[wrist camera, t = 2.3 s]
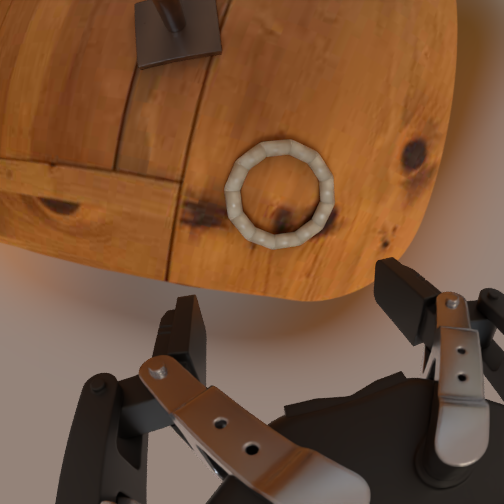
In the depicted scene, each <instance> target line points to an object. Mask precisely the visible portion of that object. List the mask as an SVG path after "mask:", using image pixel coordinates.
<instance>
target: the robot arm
mask: <svg viewBox="0 0 504 504" xmlns="http://www.w3.org/2000/svg"><path fill="white" fill-rule="evenodd" d="M374 297H375V300H376V302H377V304H378V305H379V306H380V307H381V308H382V309H383V311H384V312H385V313H386V314H387V315H388V316H389V318H390V319H392V321H393V322H394V324H395V325H396V326H397V327H398V328H399V330H400V331H401V332H402V333H403V334H404V336H405V337H406V338H407V339H408V340H409V342H410V343H411V344H412V345H413V346H415V345H418V344H420V343H424V344H425V346H424V349H423V356H422V365H421V373H420V378H406V377H405V376H404V374H403V373H402V371H400V372H398V373H395V374H393V375H390V376H387V377H384V378H382V379H379V380H377V381H374V382H373V383H371V384H370V385H368V386H366V387H365V388H363V389H362V390H360V391H358V392H356V393H355V394H353V395H351V396H346V397H334V398H318V399H312V400H309V401H304V402H300V403H296V404H291V405H286V406H284V411H285V415H284V416H282V417H279V418H278V419H276V420H274V421H272V422H271V423H269V424H268V425H266V424H265V423H263V422H262V421H261V420H259V419H258V418H256V417H255V416H254V415H252V414H251V413H249V412H248V411H247V410H245V409H244V408H243V407H241V406H240V405H239V404H237V403H236V402H235V401H234V400H232V399H231V398H229V397H228V396H227V395H226V394H225V393H223V392H222V391H220V390H219V389H218V388H217V387H215V386H210V387H209V388H207V387H206V330H205V325H204V322H203V318H202V315H201V311H200V308H199V304H198V300H197V297H196V295H189V296H183V297H178V298H177V303H176V308H175V310H169V311H167V312H166V313H165V315H164V316H163V317H162V318H161V322H160V326H159V330H158V335H157V338H156V342H155V346H154V351H153V355H152V358H150V359H148V360H147V361H146V362H144V363H143V364H142V366H141V367H140V370H139V374H138V375H136V376H133V377H130V378H127V379H124V380H121V381H117V379H116V378H115V376H113V375H112V374H109V373H100V374H97V375H94V376H93V377H91V378H90V379H89V380H87V382H86V383H85V385H84V386H83V389H82V392H81V395H80V399H79V402H78V405H77V408H76V412H75V415H74V419H73V423H72V426H71V430H70V434H69V438H68V442H67V446H66V450H65V454H64V459H63V464H62V469H61V474H60V479H59V485H58V491H57V497H56V503H55V504H146V482H147V451H148V449H147V447H148V433H149V432H151V431H155V430H158V429H161V428H164V427H167V426H170V427H171V428H172V429H173V431H174V432H175V433H176V434H177V435H178V436H179V437H180V439H181V440H182V441H183V442H184V443H185V444H186V445H187V446H188V447H189V448H190V449H191V450H192V451H193V452H194V453H195V454H196V456H198V458H199V459H200V460H201V461H202V462H203V463H204V464H205V466H206V467H207V468H208V469H209V470H210V471H211V472H212V473H213V474H214V475H215V476H216V477H217V478H218V479H220V480H221V481H222V483H221V485H220V486H219V487H218V489H217V490H216V491H215V492H214V494H213V495H212V496H211V498H210V499H209V500H208V501H207V503H206V504H504V405H502V404H500V403H496V402H493V401H490V400H487V399H485V397H484V378H483V374H484V375H485V377H486V378H487V379H488V381H489V382H490V383H491V385H492V386H493V387H494V389H495V390H496V391H497V393H498V394H499V395H500V397H501V398H502V400H503V401H504V351H503V350H502V349H501V348H500V347H499V346H498V345H497V344H496V342H495V341H494V340H493V336H494V334H495V331H496V329H497V328H498V329H499V330H500V331H501V332H502V333H503V335H504V294H503V293H501V292H499V291H498V290H496V289H492V288H485V289H483V290H481V291H480V294H479V298H478V300H476V301H466V300H465V298H464V297H463V296H461V295H460V294H457V293H454V292H443V293H441V292H440V291H439V290H438V289H437V288H435V287H434V286H433V285H432V284H431V283H429V282H428V281H427V280H425V278H423V277H422V276H420V274H418V273H417V272H416V271H415V270H413V269H411V268H409V267H407V266H404V265H402V264H401V263H400V262H398V261H397V260H396V259H395V258H393V257H391V258H386V259H382V260H378V261H377V262H376V266H375V281H374Z"/></svg>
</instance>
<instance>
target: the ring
mask: <svg viewBox="0 0 504 504" xmlns="http://www.w3.org/2000/svg"><path fill="white" fill-rule="evenodd" d="M279 155H291V156H293V157H295V158H297V159H299V160H301V161H303V162H306V163H308V165H309V166H310V168H311V169H312V171H313V172H314V174H315V175H316V177H317V178H318V180H319V188H320V202H319V204H318V207H317V209H316V211H315V213H314V215H313V217H312V219H311V220H310V221H309V222H307V223H306V224H305V225H303V226H302V227H300V228H299V229H298V230H296V231H295V232H289V233H283V234H276V235H274V234H271V233H269V232H266V231H263V230H261V229H258V228H256V227H255V226H254V225H253V224H252V222H251V221H250V220H249V219H248V217H247V216H246V215H245V214H244V212H243V209H242V202H241V194H240V189H241V187H242V185H243V182H244V180H245V178H246V175H247V173H248V171H249V170H250V169H251V168H252V167H254V166H255V165H256V164H258V163H259V162H260V161H262V160H263V159H265V158H266V157H270V156H279ZM224 193H225V199H226V206H227V213H228V218H229V219H230V221H231V222H232V223H233V224H234V225H235V227H236V228H237V229H238V230H239V231H240V233H241V234H242V235H243V236H244V238H245V239H246V240H248V241H251V242H253V243H256V244H259V245H262V246H264V247H267V248H270V249H281V248H287V247H293V246H299V245H302V244H303V243H304V242H306V241H307V240H308V239H310V238H311V237H312V236H314V235H315V234H317V233H318V232H319V231H321V230H322V229H323V227H324V225H325V223H326V221H327V219H328V217H329V215H330V213H331V211H332V209H333V207H334V204H335V199H334V178H333V175H332V173H331V172H330V170H329V168H328V167H327V165H326V164H325V162H324V161H323V159H322V158H321V156H320V155H319V153H318V152H317V151H315V150H313V149H311V148H309V147H307V146H305V145H302V144H300V143H298V142H296V141H294V140H292V139H286V140H275V141H265V142H260V143H259V144H257V145H256V146H254V147H253V148H252V149H250V150H249V151H248V152H246V153H245V154H244V155H242V156H241V157H240V158H238V159H237V160H236V161H235V163H234V166H233V168H232V170H231V173H230V175H229V178H228V180H227V182H226V185H225V187H224Z"/></svg>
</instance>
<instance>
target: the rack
mask: <svg viewBox="0 0 504 504" xmlns="http://www.w3.org/2000/svg"><path fill="white" fill-rule="evenodd" d="M135 32H136V48H137V62H138V68H140V69H141V70H143V69H146V68H150V67H154V66H159V65H163V64H168V63H172V62H177V61H182V60H188V59H193V58H200V57H206V56H213V55H221V54H222V48H221V40H220V32H219V25H218V17H217V9H216V1H215V0H147V1H143V2H139V3H136V4H135Z"/></svg>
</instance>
